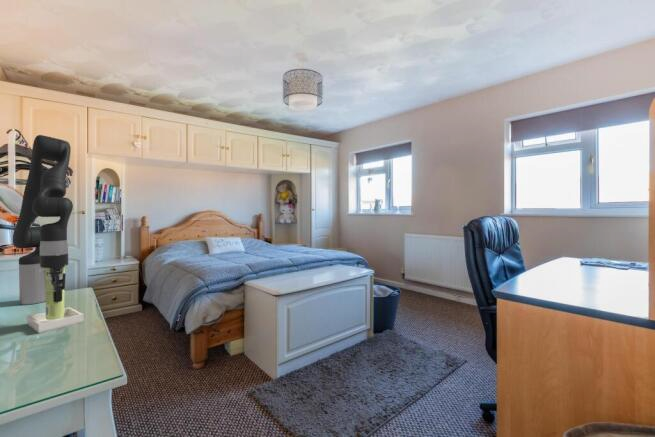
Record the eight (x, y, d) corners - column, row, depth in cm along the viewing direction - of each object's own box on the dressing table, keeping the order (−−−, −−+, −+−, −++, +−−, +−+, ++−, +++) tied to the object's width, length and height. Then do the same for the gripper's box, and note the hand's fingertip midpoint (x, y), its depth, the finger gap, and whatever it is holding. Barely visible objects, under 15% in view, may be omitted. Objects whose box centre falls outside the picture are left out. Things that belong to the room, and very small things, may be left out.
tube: (66, 314, 113) (65, 261, 112) (66, 318, 109) (65, 263, 108) (46, 317, 109) (45, 263, 108) (44, 321, 105) (43, 265, 104)
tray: (27, 324, 108) (27, 316, 108) (70, 314, 118) (69, 307, 117) (38, 333, 100) (38, 324, 100) (83, 322, 110) (83, 314, 110)
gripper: (34, 252, 109) (35, 299, 109) (46, 256, 101) (47, 306, 101) (61, 250, 115) (61, 294, 116) (74, 253, 107) (75, 301, 108)
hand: (55, 300), depth 108 cm, fingers closed on tube, 5 cm apart
